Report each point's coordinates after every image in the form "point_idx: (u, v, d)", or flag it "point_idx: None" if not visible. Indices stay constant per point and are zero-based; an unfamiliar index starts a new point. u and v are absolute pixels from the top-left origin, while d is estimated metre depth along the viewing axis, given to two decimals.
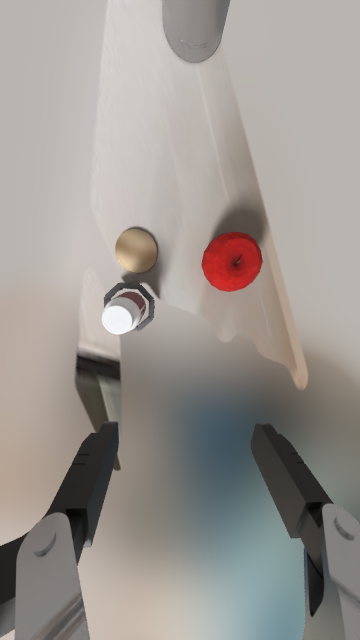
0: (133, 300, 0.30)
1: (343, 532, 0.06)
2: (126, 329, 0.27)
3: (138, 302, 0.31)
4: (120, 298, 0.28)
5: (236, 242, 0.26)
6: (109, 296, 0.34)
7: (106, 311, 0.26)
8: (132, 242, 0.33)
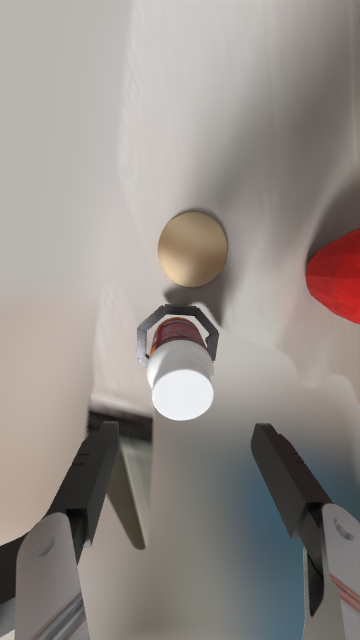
0: (200, 344, 0.16)
1: (343, 532, 0.06)
2: (199, 412, 0.13)
3: None
4: (181, 344, 0.14)
5: None
6: (146, 327, 0.20)
7: (162, 380, 0.12)
8: (187, 236, 0.19)
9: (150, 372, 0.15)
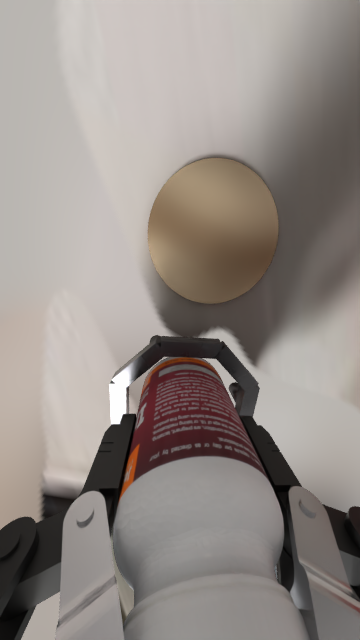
0: (248, 454, 0.06)
1: (305, 510, 0.06)
2: None
3: (245, 433, 0.08)
4: (206, 484, 0.05)
5: None
6: (126, 381, 0.11)
7: None
8: (205, 209, 0.10)
9: (118, 556, 0.05)
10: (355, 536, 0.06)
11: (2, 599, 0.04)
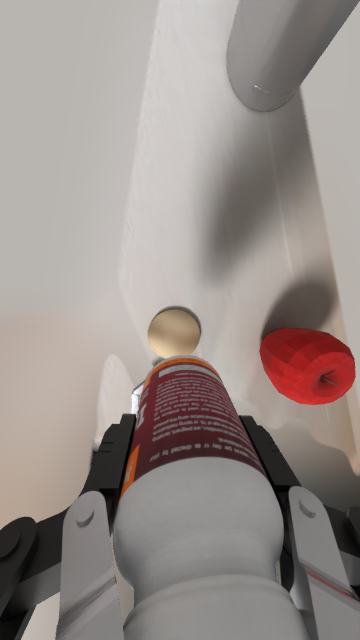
0: (247, 455, 0.06)
1: (305, 510, 0.06)
2: None
3: (245, 433, 0.08)
4: (206, 485, 0.05)
5: (330, 357, 0.18)
6: (138, 393, 0.26)
7: None
8: (169, 326, 0.26)
9: (118, 557, 0.05)
10: (355, 537, 0.06)
11: (2, 599, 0.04)
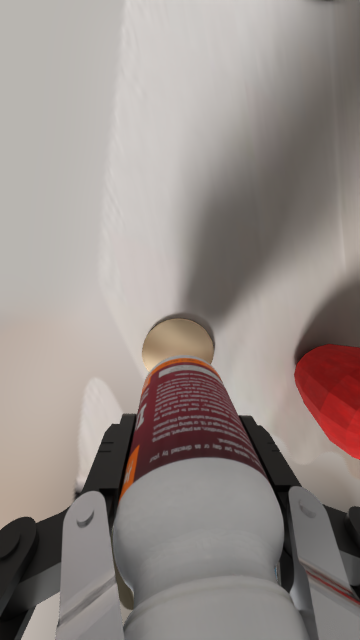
0: (248, 455, 0.06)
1: (305, 510, 0.06)
2: None
3: (245, 433, 0.08)
4: (206, 486, 0.05)
5: None
6: None
7: None
8: (172, 341, 0.19)
9: (118, 558, 0.05)
10: (355, 537, 0.06)
11: (3, 598, 0.04)
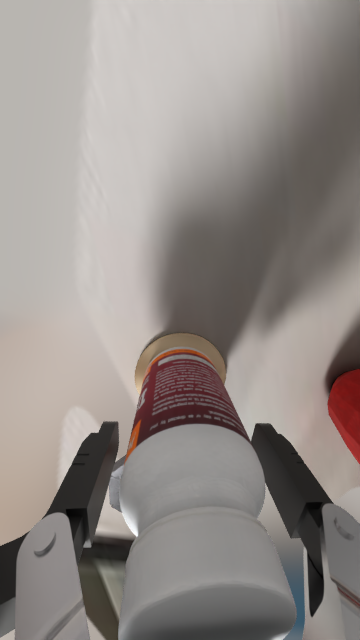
0: (234, 425, 0.07)
1: (343, 532, 0.06)
2: None
3: (235, 411, 0.09)
4: (197, 444, 0.06)
5: None
6: (120, 474, 0.15)
7: (146, 614, 0.04)
8: None
9: (124, 506, 0.06)
10: None
11: None
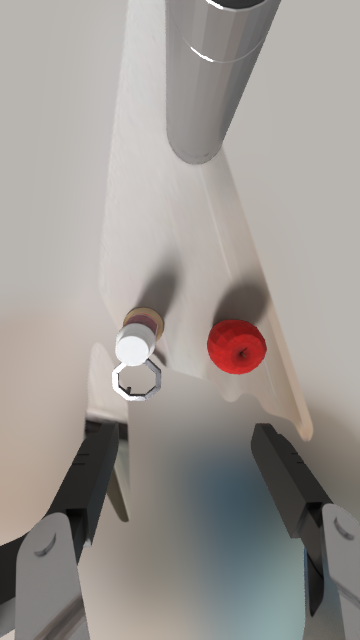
0: (147, 326, 0.27)
1: (343, 532, 0.06)
2: (142, 360, 0.24)
3: (152, 326, 0.28)
4: (134, 325, 0.26)
5: (242, 338, 0.26)
6: (117, 371, 0.35)
7: (120, 342, 0.23)
8: None
9: (117, 342, 0.26)
10: None
11: None
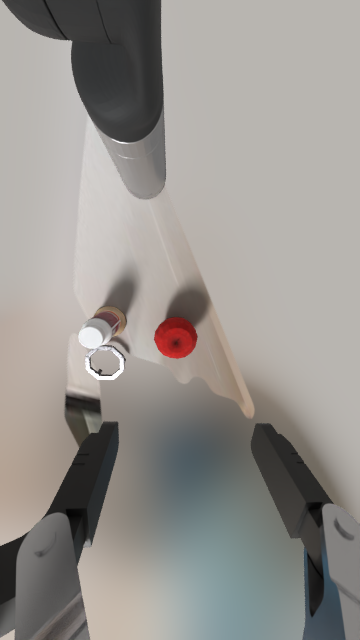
0: (105, 320, 0.36)
1: (343, 532, 0.06)
2: (98, 345, 0.34)
3: (111, 321, 0.38)
4: (94, 319, 0.35)
5: (174, 331, 0.36)
6: (89, 355, 0.44)
7: (81, 331, 0.33)
8: None
9: None
10: None
11: None
